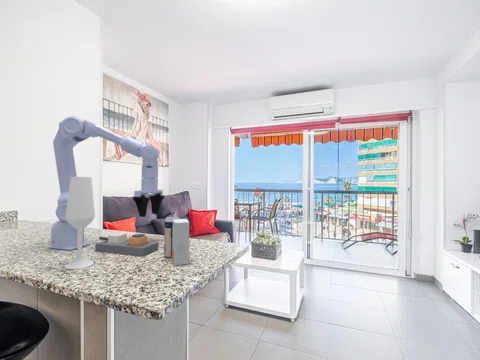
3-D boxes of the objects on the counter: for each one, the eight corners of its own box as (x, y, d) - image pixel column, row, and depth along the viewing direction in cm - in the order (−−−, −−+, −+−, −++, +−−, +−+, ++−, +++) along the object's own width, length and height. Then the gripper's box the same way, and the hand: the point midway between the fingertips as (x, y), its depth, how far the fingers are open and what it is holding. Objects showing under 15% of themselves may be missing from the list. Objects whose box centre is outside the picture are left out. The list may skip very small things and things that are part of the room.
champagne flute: (89, 259, 71) (91, 177, 71) (96, 264, 67) (98, 177, 67) (61, 264, 66) (63, 176, 67) (67, 270, 62) (69, 176, 62)
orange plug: (128, 252, 78) (129, 235, 78) (136, 249, 82) (137, 232, 82) (139, 254, 77) (139, 236, 77) (147, 250, 81) (147, 233, 81)
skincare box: (171, 259, 72) (172, 219, 72) (186, 257, 74) (186, 218, 74) (173, 266, 67) (174, 222, 67) (189, 264, 68) (190, 221, 68)
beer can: (175, 259, 73) (176, 218, 73) (160, 257, 74) (161, 218, 74) (182, 254, 77) (183, 216, 77) (168, 253, 78) (169, 216, 78)
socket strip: (90, 250, 79) (90, 235, 79) (109, 244, 87) (109, 230, 87) (143, 256, 74) (143, 240, 74) (158, 249, 82) (158, 234, 82)
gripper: (147, 178, 82) (146, 218, 82) (169, 179, 96) (169, 213, 96) (129, 178, 84) (128, 217, 84) (154, 178, 98) (153, 212, 98)
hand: (149, 215), depth 90 cm, fingers open, 7 cm apart
